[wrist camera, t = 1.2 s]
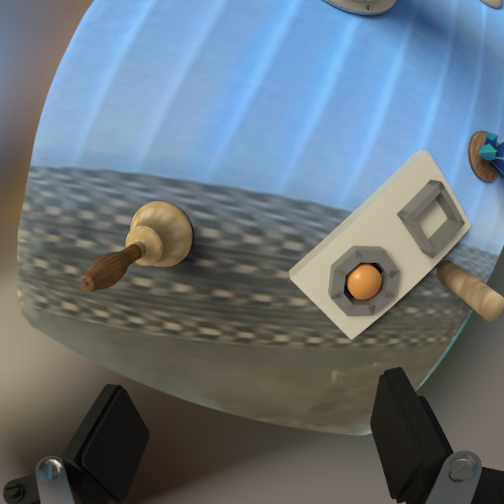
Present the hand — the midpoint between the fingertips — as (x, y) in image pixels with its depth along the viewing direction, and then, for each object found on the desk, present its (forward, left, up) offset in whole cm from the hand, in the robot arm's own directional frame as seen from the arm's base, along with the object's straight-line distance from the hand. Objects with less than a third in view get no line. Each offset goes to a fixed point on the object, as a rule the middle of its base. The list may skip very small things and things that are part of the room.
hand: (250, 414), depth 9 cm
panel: (-10, +11, -25) cm, 29 cm away
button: (-5, +11, -23) cm, 27 cm away
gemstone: (-31, +13, -26) cm, 42 cm away
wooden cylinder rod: (-15, +21, -25) cm, 36 cm away
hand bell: (+9, -9, -26) cm, 28 cm away
